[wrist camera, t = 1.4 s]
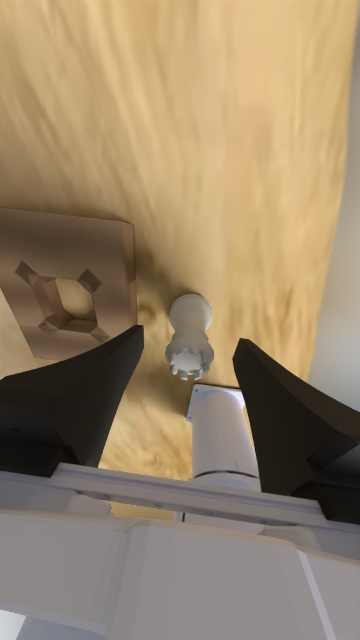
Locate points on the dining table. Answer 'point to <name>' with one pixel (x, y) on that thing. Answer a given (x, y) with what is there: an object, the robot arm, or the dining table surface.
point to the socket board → (68, 263)
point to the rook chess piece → (190, 337)
